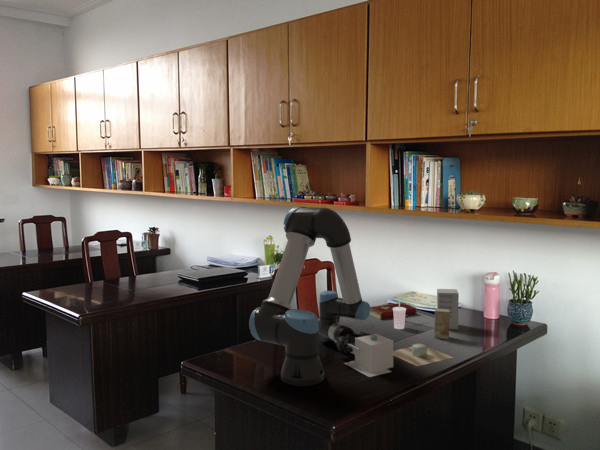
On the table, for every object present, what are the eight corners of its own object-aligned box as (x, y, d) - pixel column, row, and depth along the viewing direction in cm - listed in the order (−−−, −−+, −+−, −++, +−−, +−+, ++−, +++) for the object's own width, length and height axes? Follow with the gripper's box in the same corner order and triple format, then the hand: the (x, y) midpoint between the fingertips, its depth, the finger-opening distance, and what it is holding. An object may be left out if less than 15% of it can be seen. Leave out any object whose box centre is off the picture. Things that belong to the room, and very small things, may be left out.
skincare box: (433, 338, 231) (434, 310, 230) (433, 335, 235) (434, 308, 234) (449, 339, 229) (449, 311, 228) (449, 336, 233) (449, 309, 232)
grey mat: (369, 378, 188) (369, 377, 188) (343, 364, 202) (343, 363, 202) (405, 369, 195) (405, 368, 195) (378, 356, 209) (378, 355, 209)
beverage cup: (401, 330, 243) (401, 300, 242) (389, 328, 247) (390, 298, 246) (408, 327, 248) (408, 297, 246) (396, 325, 252) (397, 295, 250)
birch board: (417, 367, 197) (417, 366, 197) (386, 353, 213) (386, 352, 213) (453, 359, 206) (453, 357, 206) (421, 346, 221) (421, 344, 221)
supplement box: (458, 330, 243) (459, 293, 241) (437, 329, 245) (437, 292, 243) (456, 324, 252) (457, 288, 251) (436, 323, 254) (436, 288, 252)
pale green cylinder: (418, 358, 205) (419, 349, 205) (409, 354, 210) (409, 345, 210) (430, 355, 208) (430, 346, 208) (420, 351, 213) (420, 342, 213)
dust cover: (371, 372, 192) (371, 342, 191) (354, 364, 200) (354, 334, 199) (393, 367, 197) (393, 337, 195) (376, 359, 205) (376, 330, 204)
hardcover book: (416, 315, 270) (416, 307, 269) (380, 320, 261) (380, 312, 261) (402, 310, 281) (402, 302, 280) (367, 314, 272) (367, 306, 272)
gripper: (366, 338, 224) (399, 353, 206) (315, 348, 212) (346, 365, 194) (366, 320, 223) (400, 333, 205) (315, 330, 211) (345, 344, 193)
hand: (373, 349), depth 199 cm, fingers open, 13 cm apart
